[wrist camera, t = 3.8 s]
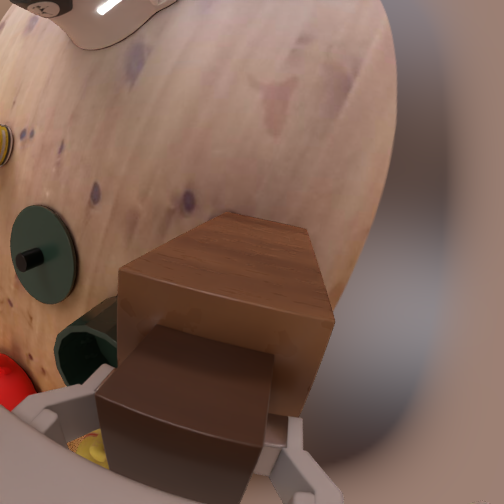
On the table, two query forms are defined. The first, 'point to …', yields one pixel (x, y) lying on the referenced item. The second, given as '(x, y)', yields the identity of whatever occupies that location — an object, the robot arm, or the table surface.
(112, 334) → the tin
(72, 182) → the table surface
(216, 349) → the block
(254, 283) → the stand
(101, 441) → the figurine
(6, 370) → the teapot
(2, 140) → the pill bottle
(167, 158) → the table surface
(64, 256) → the tin lid
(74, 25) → the robot arm
